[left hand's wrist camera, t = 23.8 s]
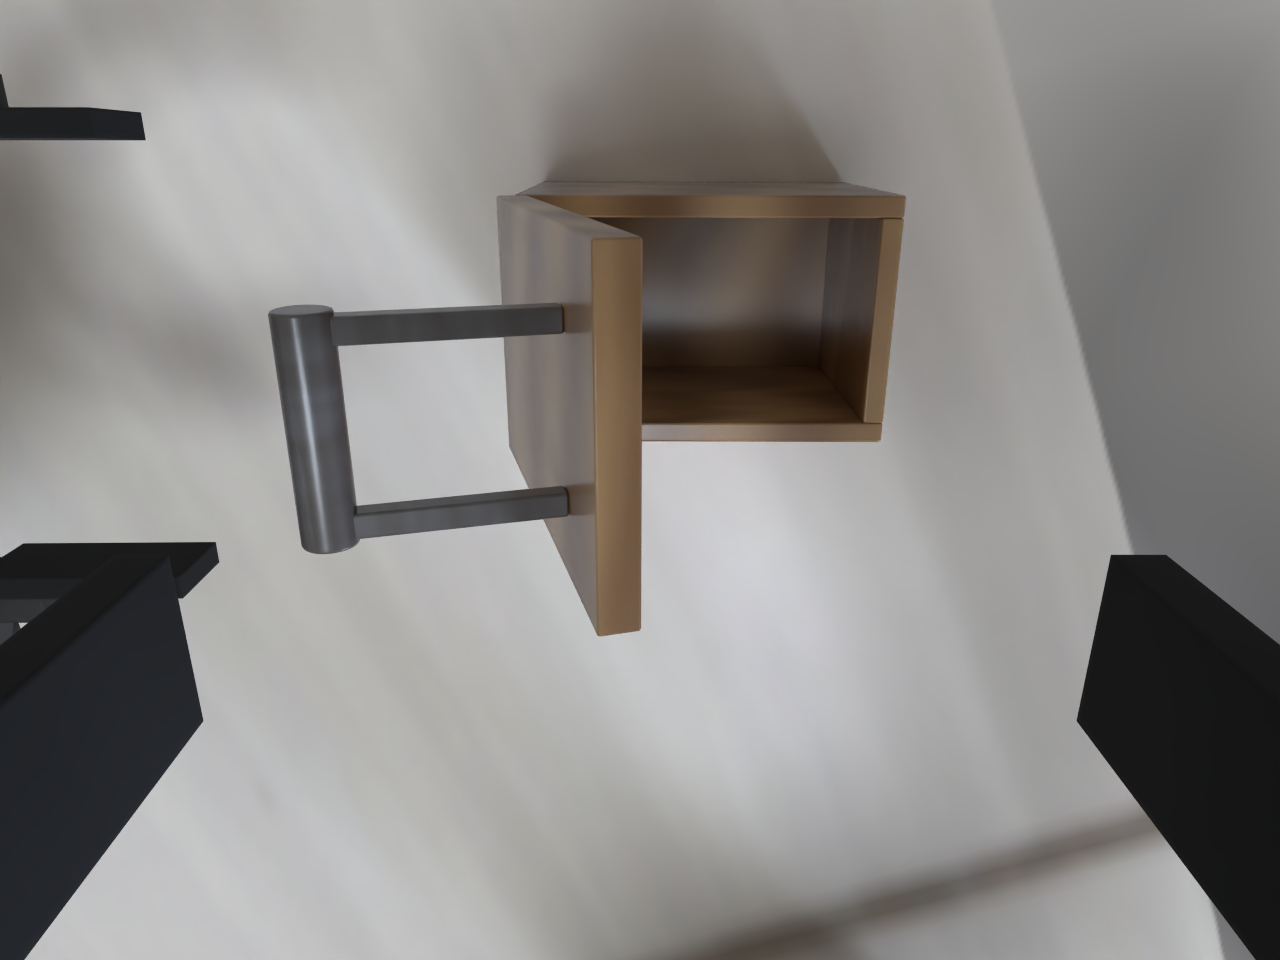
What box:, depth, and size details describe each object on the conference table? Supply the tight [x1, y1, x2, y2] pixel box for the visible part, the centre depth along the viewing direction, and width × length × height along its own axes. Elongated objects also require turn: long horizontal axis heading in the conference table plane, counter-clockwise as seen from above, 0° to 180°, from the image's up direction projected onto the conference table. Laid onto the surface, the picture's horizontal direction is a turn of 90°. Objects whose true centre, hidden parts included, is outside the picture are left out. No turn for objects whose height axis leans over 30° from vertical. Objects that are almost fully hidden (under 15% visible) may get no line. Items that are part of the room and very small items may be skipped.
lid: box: [268, 195, 643, 636], centre depth 27 cm, size 15×10×8 cm
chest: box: [515, 182, 906, 442], centre depth 40 cm, size 14×10×10 cm, turn 90°
